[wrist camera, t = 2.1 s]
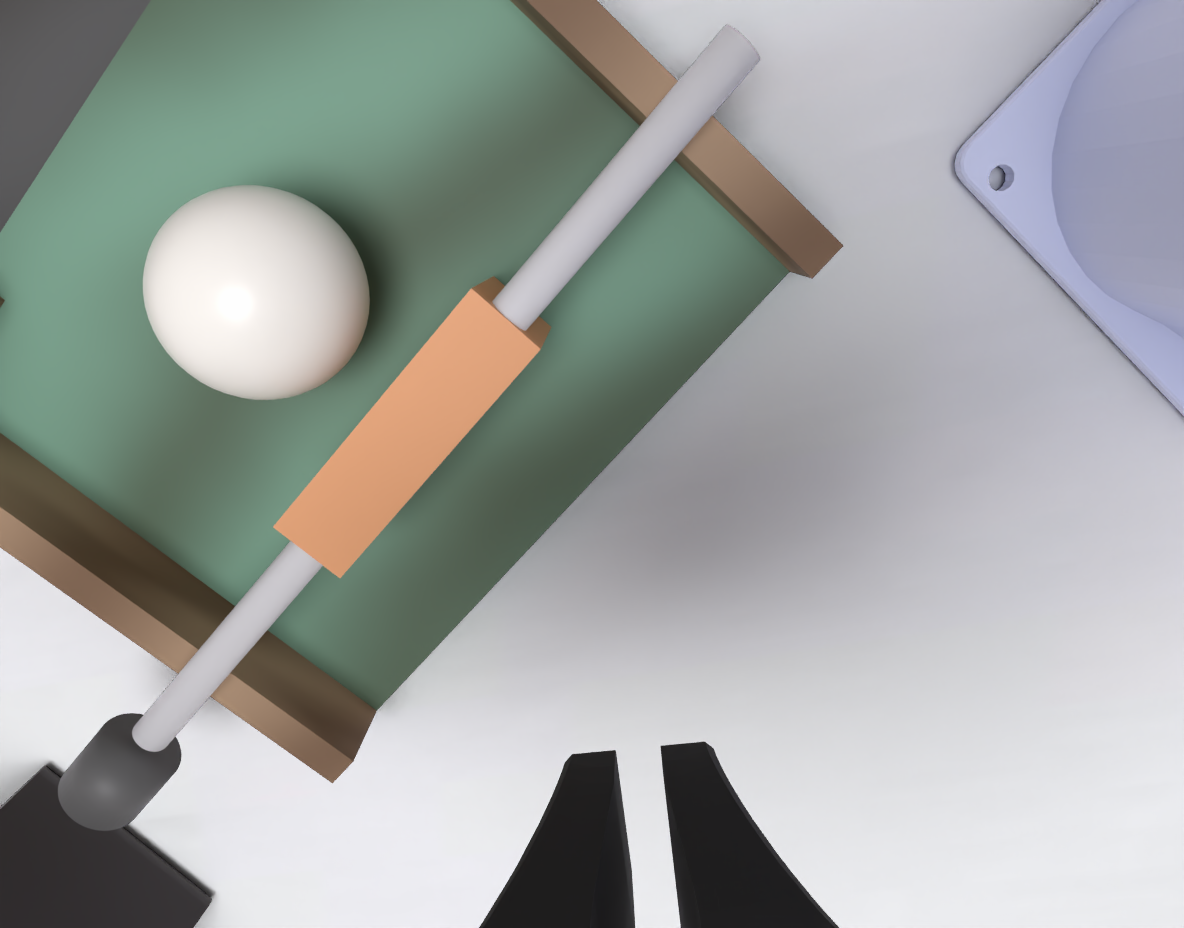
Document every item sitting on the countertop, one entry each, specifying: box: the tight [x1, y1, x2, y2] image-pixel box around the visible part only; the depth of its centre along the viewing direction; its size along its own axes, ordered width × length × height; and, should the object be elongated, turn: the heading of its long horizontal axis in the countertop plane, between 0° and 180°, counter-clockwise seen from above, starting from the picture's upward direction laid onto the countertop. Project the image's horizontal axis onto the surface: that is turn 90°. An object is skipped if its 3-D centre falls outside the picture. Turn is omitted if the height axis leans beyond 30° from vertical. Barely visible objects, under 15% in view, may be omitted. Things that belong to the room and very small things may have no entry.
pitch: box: [0, 0, 843, 783], centre depth 17 cm, size 22×16×3 cm
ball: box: [143, 185, 370, 400], centre depth 16 cm, size 4×4×4 cm
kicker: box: [58, 25, 760, 831], centre depth 17 cm, size 2×20×3 cm, turn 138°
